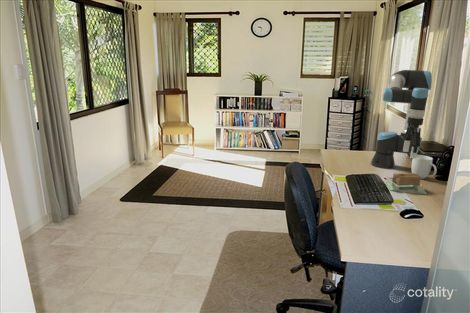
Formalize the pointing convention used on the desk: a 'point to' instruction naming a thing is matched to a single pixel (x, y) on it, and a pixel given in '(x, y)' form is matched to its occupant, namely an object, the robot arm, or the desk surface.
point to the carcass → (405, 187)
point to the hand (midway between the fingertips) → (409, 154)
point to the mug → (422, 166)
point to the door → (406, 179)
